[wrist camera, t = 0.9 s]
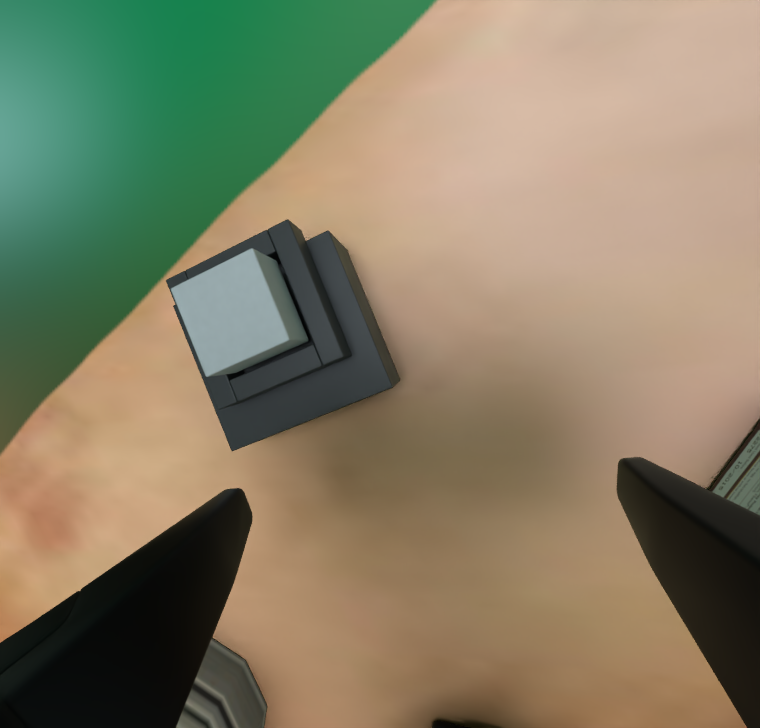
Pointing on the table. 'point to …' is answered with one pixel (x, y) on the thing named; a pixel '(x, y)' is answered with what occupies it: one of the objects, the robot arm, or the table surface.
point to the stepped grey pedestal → (311, 359)
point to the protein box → (743, 475)
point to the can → (223, 694)
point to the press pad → (239, 313)
